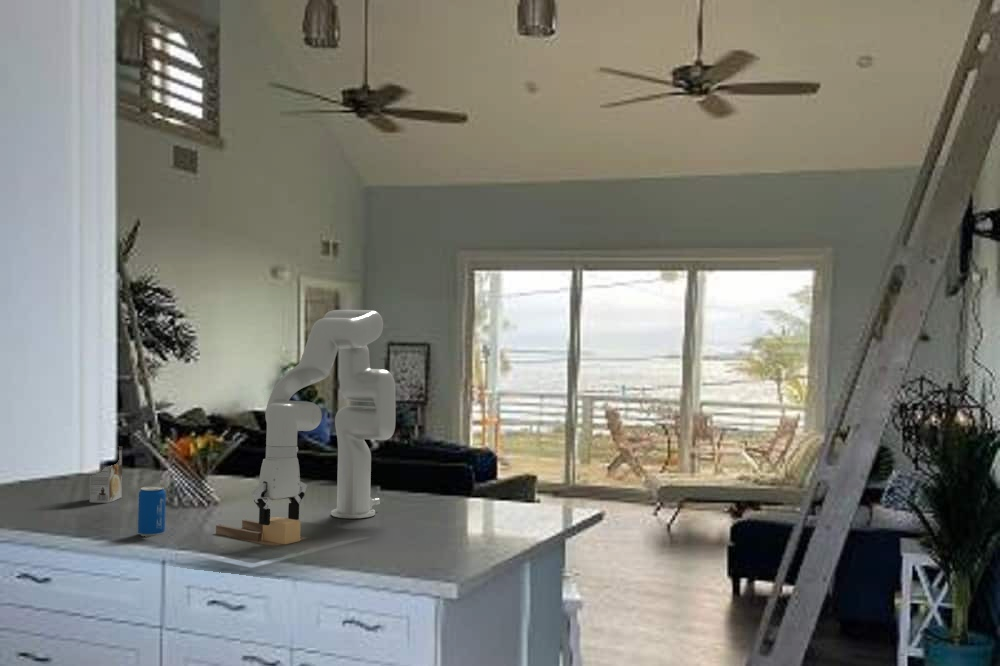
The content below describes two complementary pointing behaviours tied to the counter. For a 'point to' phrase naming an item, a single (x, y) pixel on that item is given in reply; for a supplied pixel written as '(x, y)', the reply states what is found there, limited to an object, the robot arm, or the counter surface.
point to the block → (282, 530)
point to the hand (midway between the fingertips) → (279, 521)
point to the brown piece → (247, 532)
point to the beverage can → (151, 511)
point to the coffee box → (107, 483)
